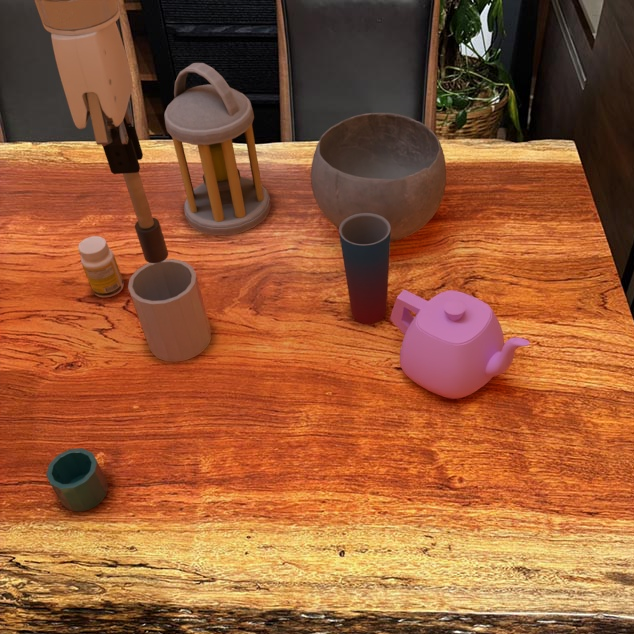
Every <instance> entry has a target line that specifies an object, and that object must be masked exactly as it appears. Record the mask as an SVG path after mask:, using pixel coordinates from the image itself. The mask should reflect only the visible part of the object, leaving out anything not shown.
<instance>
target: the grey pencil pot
mask: <svg viewBox="0 0 634 634" xmlns="http://www.w3.org/2000/svg"><path fill="white" fill-rule="evenodd" d="M127 289H128V292H129V295H130V298H131V301H132V303H133V307H134V309H135V312H136V315H137V318H138V321H139V323H140V326H141V329H142V332H143V335H144V338H145V340H146V344H147V346H148V348H149V351H150V353H151V354H152V355H153V356H154V357H155V358H157V359H159V360H162V361H165V362H171V363H177V362H184V361H187V360H188V361H189V360H191V359H193V358H195V357H197V356H199V355H200V354H202V352H204V351H205V350H206V349H207V347H209V345H210V342H211V339H212V329H211V325H210V322H209V321H210V320H209V318H208V314H207V310H206V306H205V303H204V302H205V301H204V298H203V295H202V291H201V287H200V283H199V279H198V276H197V273H196V271H195V269H194V267H193V266H192V265H190V264H189V263H187V262H186V261H184V260H180V259H175V258H166V259H165V260H164V261H162V262H160V263H149V262H148V263H146V264H144V265H142V266H140V267H139V268H138V269H136V270H135V271H134V272H133V274H132V275H131V276H130V277H129V281H128V284H127Z"/></svg>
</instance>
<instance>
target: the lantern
mask: <svg viewBox="0 0 634 634" xmlns="http://www.w3.org/2000/svg"><path fill="white" fill-rule="evenodd" d="M189 73H192V74H193V73H194V74H196V75H199V76H201V77H202V78H204V79H205V80H207V82H209V83H210V84H203V85H196V86H193V87H191V88H187V89H186V81H187V77H188V75H189ZM173 95H174V98H173V100H171V101H170V103H169V104H168V105H167V107H166V109H165V111H164V124H165V128H166V129H165V130H166V132H167V133H168V134H169V136H171V138H172V142H173V146H174V151H175V154H176V158H177V163H178V166H179V171H180V175H181V179H182V182H183V186H184V190H185V195H186V198H185V201H184V203H183V209H184V216H185V219H186V221H187V222H188V224H189V225H190V227H192V228H193V229H195V230H196V231H199V232H200V233H203V234H207V235H212V236H230V235H231V236H232V235H236V234H242V233H244V232H246V231H248V230H252V229H254V228H255V227H257V226H258V225H260V224H261V223H262V222H264V220H265V219H266V218H267V216H268V215H269V214H270V210H271V199H270V193H269V191H268V189H266V188H265V187H264V186H263V184H262V178H261V173H260V166H259V160H258V153H257V148H256V143H255V135H254V129H253V122H254V119H255V115H254V110H253V107H252V103H251V100H250V99H249V98H248V97H247V96H246V95H245V94H244V93H243V92H240V91H239V90H237V89H234V88H232V87H230V85H229V84H228V83H227V81H226V80H225V78H224V77H223V76H222V75H221V74H220V73H219V72H218V71H217V70H215V68H214V67H211V66H210V65H208V64H206V63H204V62H194V63H193V62H192V63H191V64H190V65H188V66H186V67H185V68H183V69H182V70H180V71H179V73H178V74H177V77H176V80H175V81H174V90H173ZM242 134H244V137H245V143H246V150H247V155H248V161H249V166H250V171H251V178H250V177H245V176H241V172H240V170H239V168H238V165H237V159H236V154H235V148H234V143H233V140H234V139H236V138H238V137H239V136H241V135H242ZM183 143H186V144H190V145H196V146H197V149H198V154H199V158H200V163H201V166H202V173H203V174H202V181H203V182H202V183H200V184H198V185H197V186H196V187H195V188H194V186H193V183H192V178H191V174H190V171H189V165H188V161H187V157H186V153H185V149H184V144H183Z"/></svg>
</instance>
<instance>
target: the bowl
mask: <svg viewBox="0 0 634 634" xmlns="http://www.w3.org/2000/svg"><path fill="white" fill-rule="evenodd" d="M310 182H311V183H310V184H311V189H312V194H313V196H314V199H315V202H316V203H317V206H318V208H319V209H320V211H321V212H322V214H323V216H324V217H325V218H326V219H327V220H328V221H329V222H330V223H331V224H332V225H334V227H335V228H336V229H338V230H339V227H340V225H341V223H342V222H343V221H344V220H345V219H346V218H348V217H350V216H352V215H355V214H360V213H372V214H377V215H380V216H382V217H384V218H385V219H386V220H387V221H388V222H389V224H390V226H391V235H390V243H391V242H397V241H399V240H403V239H405V238H407V237H409V236H411V235H414V233H417V232H418V231H420V230H421V229H422V228H424V227H425V226H426V225H427V224H428V223H429V222H430V221H431V220H432V218H433V217H434V216H435V214H436V213H437V212H438V210H439V207H440V206H441V203H442V200H443V198H444V195H445V190H446V185H447V166H446V157H445V153H444V150H443V147H442V143H441V141H440V139H439V138H438V136H437V135H436V134H435V132H434V131H433V130H432V129H430V127H428V125H426V124H425V123H423V122H421V121H417V120H416V119H415V118H412V117H410V116H406V115H403V114H398V113H393V112H369V113H362V114H357V115H353V116H352V117H348V118H346V119H344V120H341V121H340V122H338V123H336V124H334V125H333V126H331V127H329V128H328V129H327V130H326V131H325V132H323V134H322V135H321V136H320V138H319V140H318V143H317V145H316V147H315V149H314V152H313V155H312V161H311V167H310Z"/></svg>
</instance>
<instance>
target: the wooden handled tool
mask: <svg viewBox="0 0 634 634" xmlns="http://www.w3.org/2000/svg"><path fill="white" fill-rule="evenodd" d="M123 123H124V121H123ZM124 126H125V125H124ZM113 128H115V129H116V130H117V127H116V126H115V125H113V126H108V129H113ZM125 130H126V128H125ZM126 133H127V131H126ZM127 136H128V135H127ZM128 139H129V138H128ZM122 176H123V179H124V182H125V186H126V188H127V191H128V194H129V198H130V201H131V205H132V208H133V211H134V214H135V216H136V220H137V221H136V222H135V224H134V229H135V234H136V236H137V240H138V242H139V245H140V247H141V248H140V249H141V251H142V254H143V258H144V260H145V261H146V262H148V263H160V262H162V261H164V260H165V259H168V257H169V250H168V247H167V243H166V241H165V238H164V234H163V230H162V227H161V223H160V221H159V219H158V218H156V217H153V215H152V211H151V207H150V205H149V201H148V198H147V194H146V192H145V187H144V185H143V181H142V178H141V174H140V171H139V172H138V173H125V174H122Z"/></svg>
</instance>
